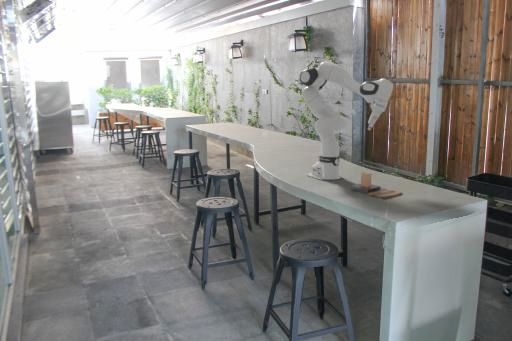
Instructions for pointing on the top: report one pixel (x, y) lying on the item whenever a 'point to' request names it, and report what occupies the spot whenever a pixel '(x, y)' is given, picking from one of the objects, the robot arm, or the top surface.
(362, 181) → the peg
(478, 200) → the top surface
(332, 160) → the robot arm
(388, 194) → the board
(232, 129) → the top surface
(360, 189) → the socket
